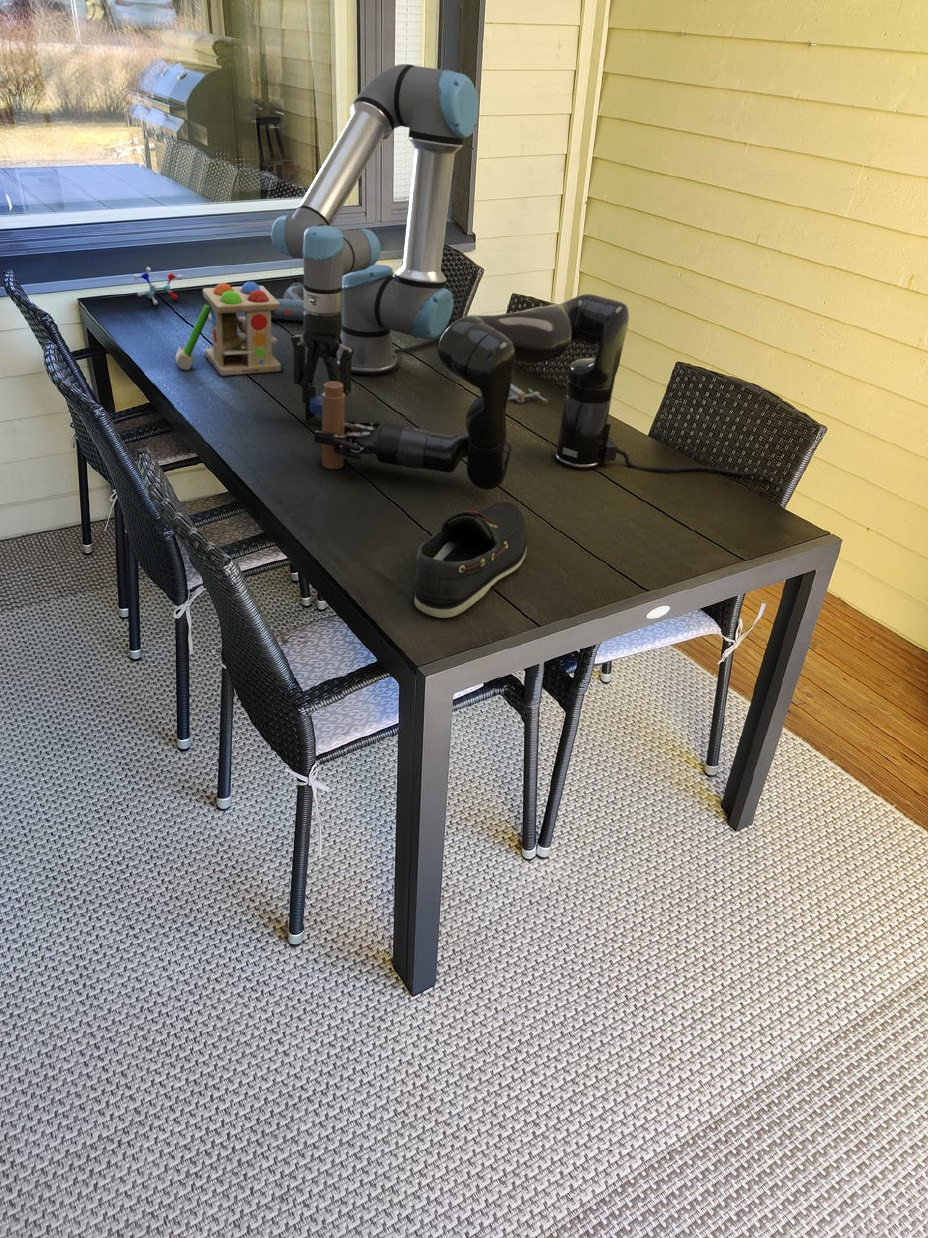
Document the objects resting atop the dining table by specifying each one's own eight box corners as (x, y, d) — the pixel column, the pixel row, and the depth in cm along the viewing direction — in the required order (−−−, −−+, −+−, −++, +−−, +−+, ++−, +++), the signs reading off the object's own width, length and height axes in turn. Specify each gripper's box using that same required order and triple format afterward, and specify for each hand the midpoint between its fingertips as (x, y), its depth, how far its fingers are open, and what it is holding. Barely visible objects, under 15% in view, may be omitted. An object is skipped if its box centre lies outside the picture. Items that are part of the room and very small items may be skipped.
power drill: (344, 304, 276) (335, 327, 259) (277, 298, 275) (264, 321, 258) (344, 285, 273) (335, 306, 256) (277, 279, 272) (264, 300, 255)
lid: (315, 416, 202) (315, 406, 201) (305, 407, 206) (305, 397, 205) (337, 413, 205) (338, 403, 203) (327, 404, 208) (327, 394, 207)
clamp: (478, 378, 231) (514, 373, 235) (477, 387, 232) (513, 382, 236) (512, 401, 220) (549, 396, 225) (511, 411, 221) (548, 405, 226)
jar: (334, 457, 194) (335, 378, 185) (348, 465, 192) (350, 385, 183) (317, 463, 192) (317, 383, 182) (331, 470, 189) (332, 390, 180)
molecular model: (165, 296, 257) (152, 258, 255) (138, 309, 260) (124, 272, 259) (191, 298, 267) (178, 262, 266) (164, 311, 271) (151, 276, 270)
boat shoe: (553, 546, 173) (559, 493, 167) (451, 625, 149) (454, 565, 143) (491, 526, 178) (495, 473, 173) (382, 598, 154) (383, 540, 149)
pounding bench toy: (183, 379, 220) (176, 299, 210) (169, 357, 231) (162, 280, 221) (282, 371, 230) (280, 294, 220) (264, 350, 240) (262, 276, 230)
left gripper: (273, 305, 194) (275, 416, 207) (352, 324, 188) (349, 437, 201) (294, 297, 199) (295, 405, 212) (371, 315, 194) (367, 426, 207)
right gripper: (416, 414, 190) (331, 399, 192) (395, 442, 178) (306, 427, 181) (413, 449, 194) (331, 435, 197) (393, 479, 182) (306, 464, 185)
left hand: (321, 421), depth 207 cm, fingers closed on lid, 5 cm apart
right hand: (319, 431), depth 189 cm, fingers closed on jar, 4 cm apart
